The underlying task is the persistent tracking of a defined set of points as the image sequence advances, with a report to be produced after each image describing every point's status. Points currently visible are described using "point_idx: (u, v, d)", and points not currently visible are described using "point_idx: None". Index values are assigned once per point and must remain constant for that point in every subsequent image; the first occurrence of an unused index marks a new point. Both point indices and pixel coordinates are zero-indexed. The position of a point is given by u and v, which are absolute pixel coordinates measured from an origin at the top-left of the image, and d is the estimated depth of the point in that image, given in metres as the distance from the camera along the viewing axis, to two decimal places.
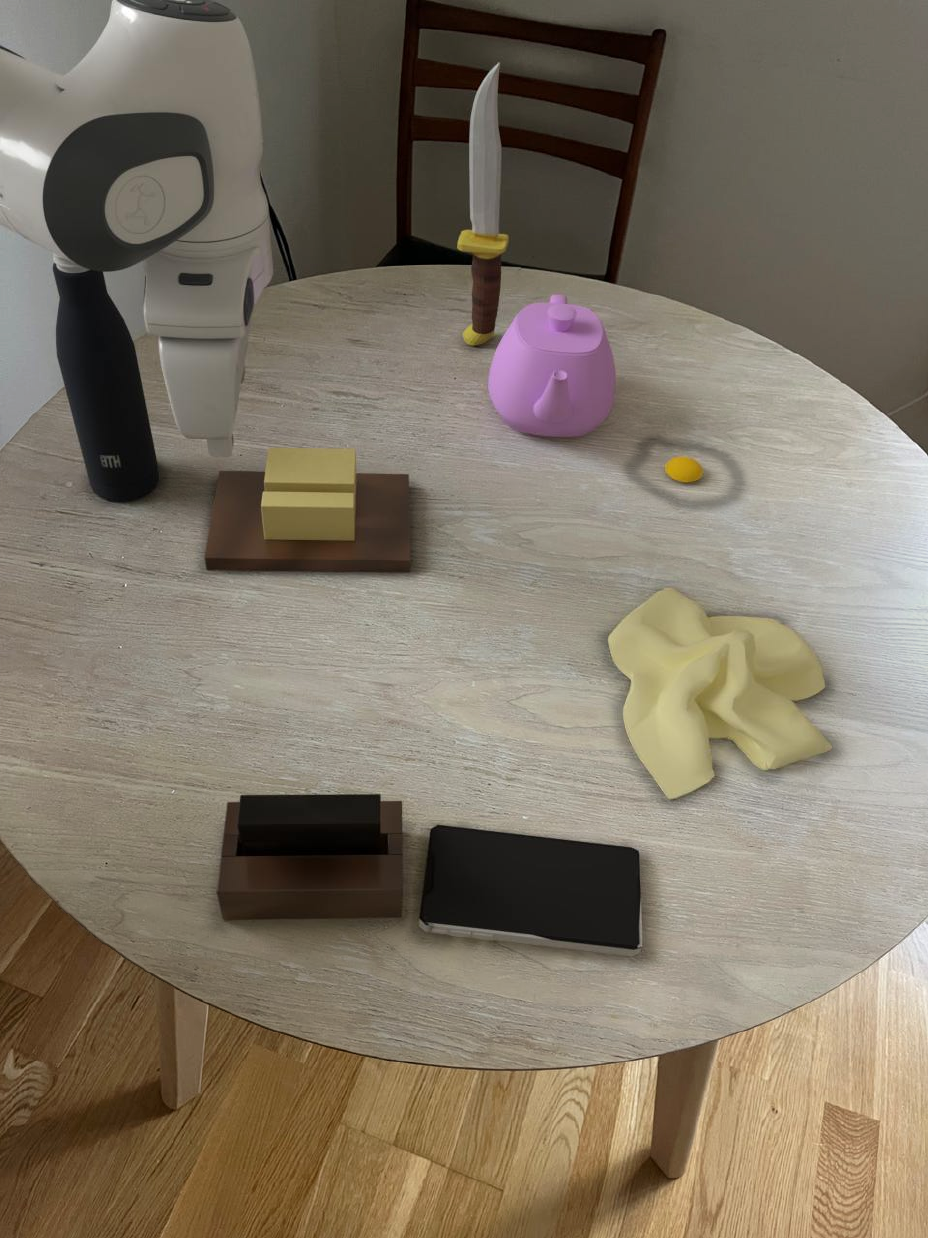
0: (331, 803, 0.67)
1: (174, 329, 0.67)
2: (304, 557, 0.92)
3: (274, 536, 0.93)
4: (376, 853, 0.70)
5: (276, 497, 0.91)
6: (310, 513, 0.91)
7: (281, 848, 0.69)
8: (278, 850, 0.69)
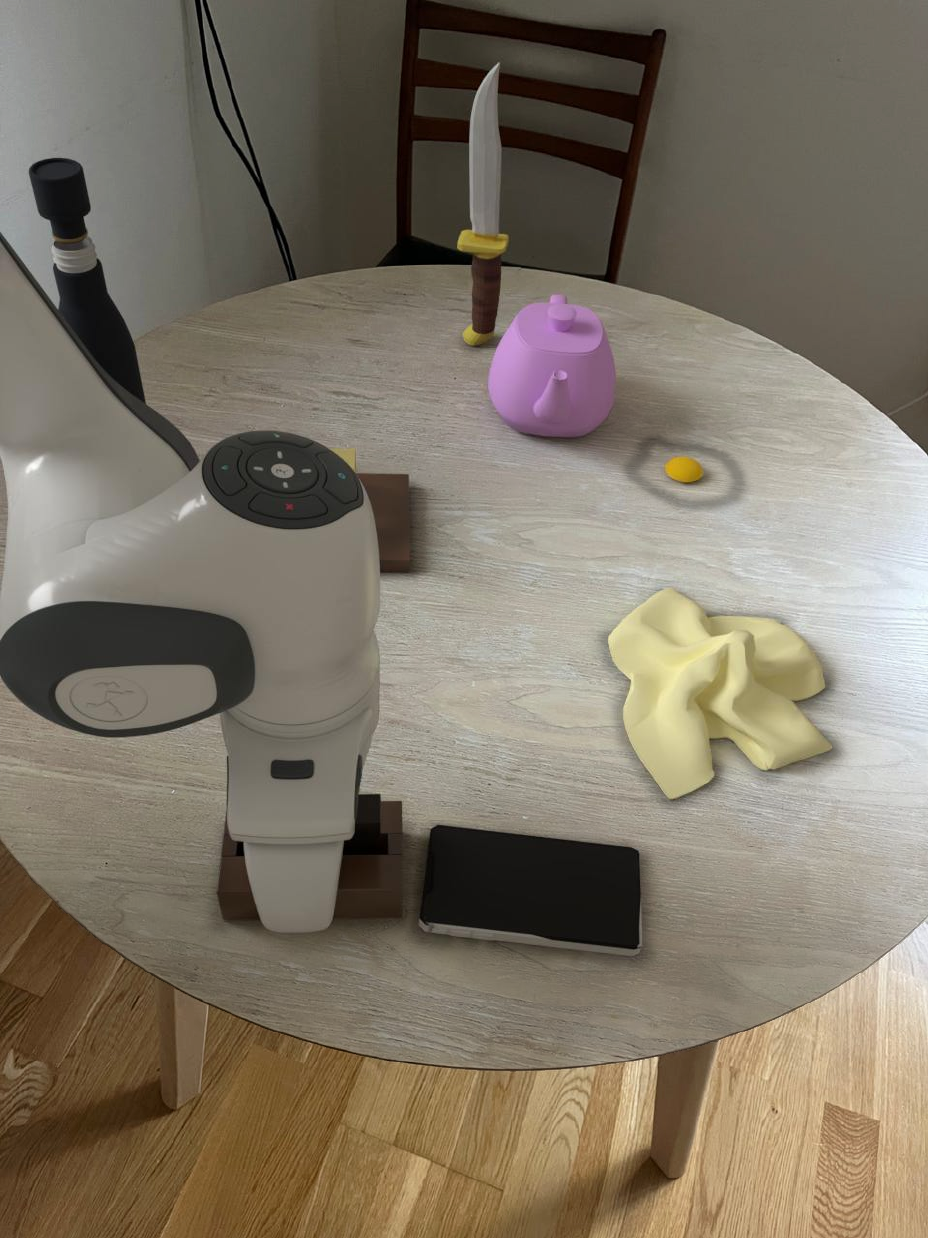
0: None
1: (266, 839, 0.52)
2: None
3: None
4: (376, 853, 0.70)
5: None
6: None
7: None
8: None
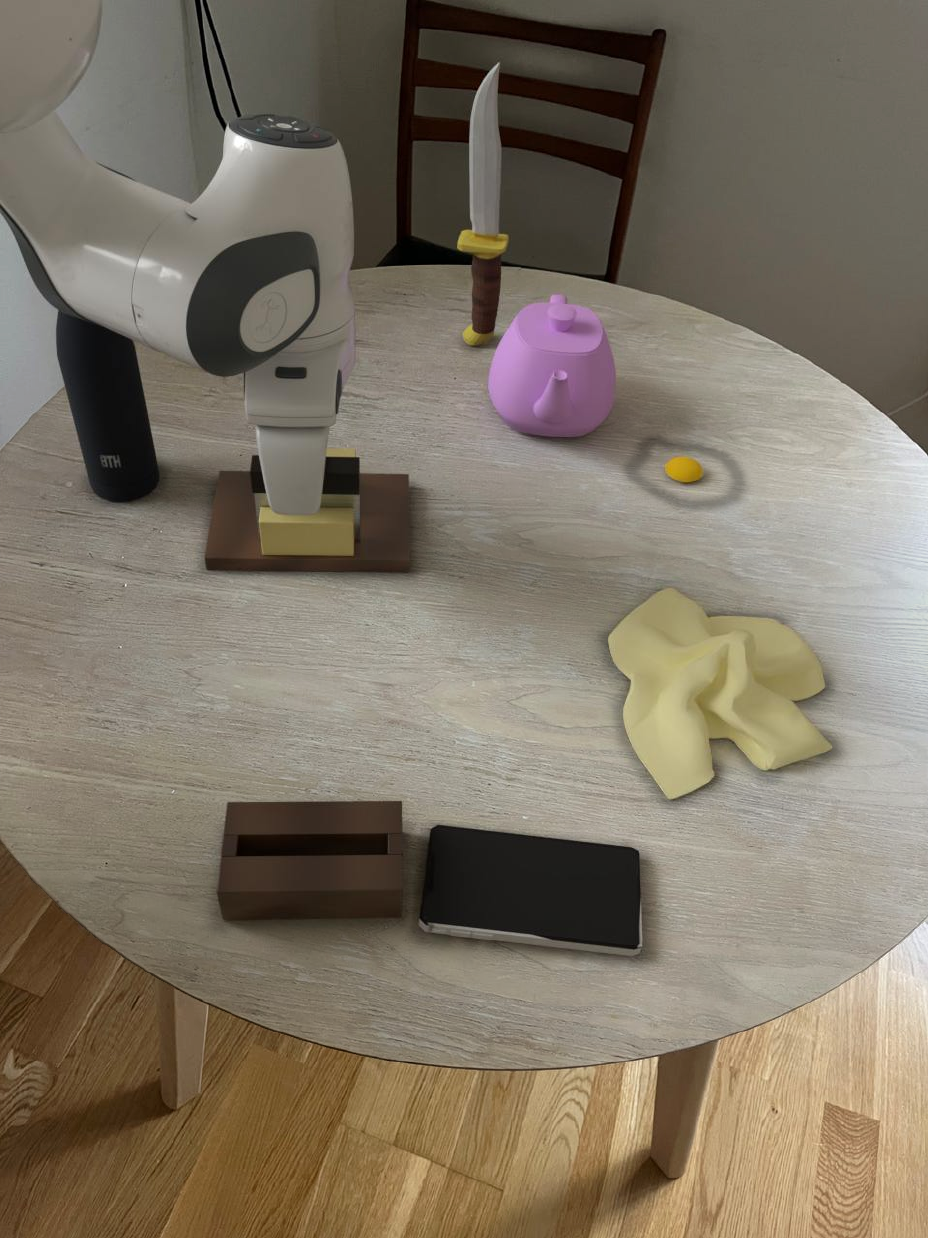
0: None
1: (272, 419, 0.73)
2: (304, 557, 0.92)
3: (272, 551, 0.91)
4: (357, 512, 0.91)
5: (274, 513, 0.89)
6: (309, 529, 0.89)
7: None
8: None
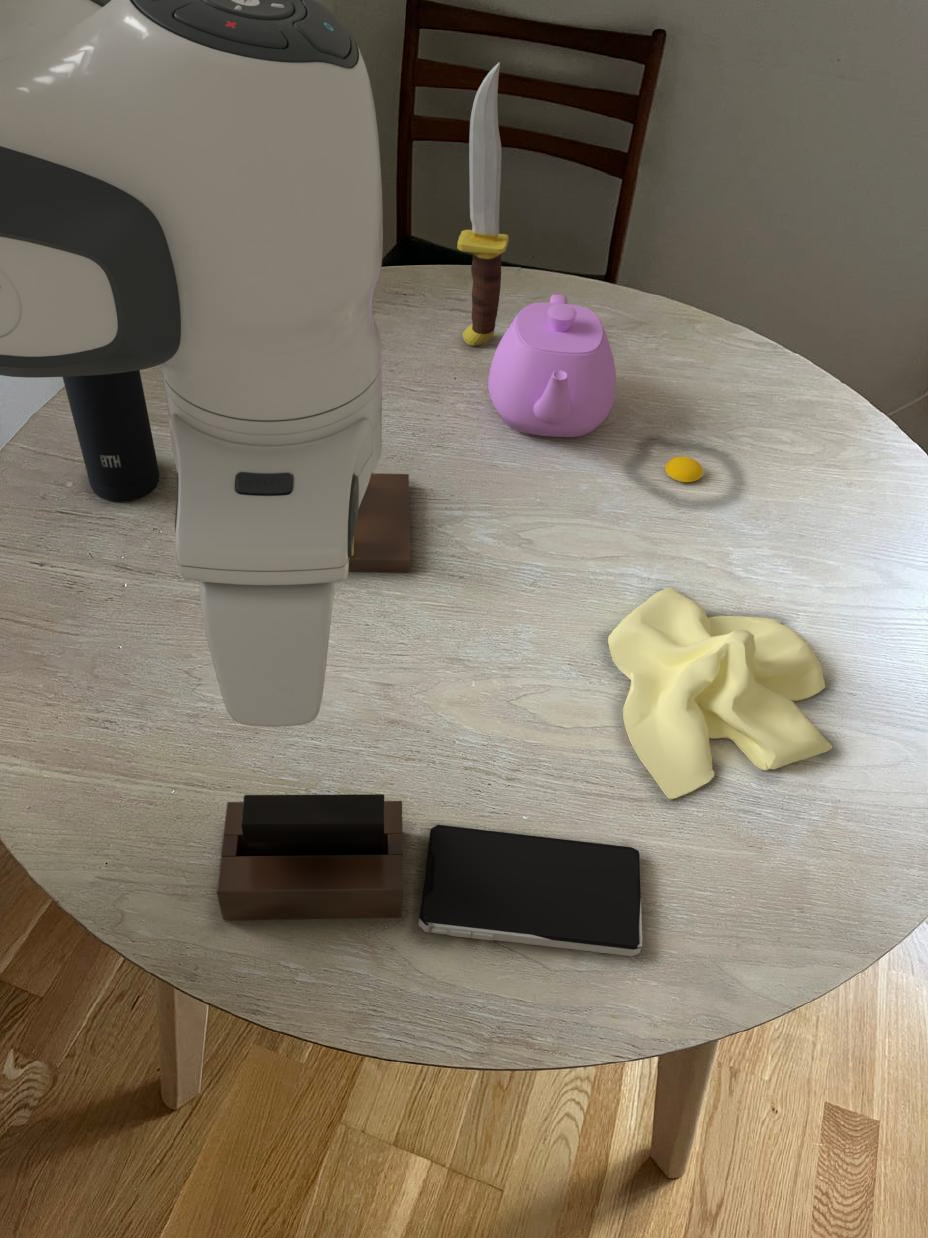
0: (334, 803, 0.67)
1: (228, 574, 0.39)
2: None
3: None
4: (379, 853, 0.70)
5: None
6: None
7: (285, 848, 0.69)
8: (282, 850, 0.69)
